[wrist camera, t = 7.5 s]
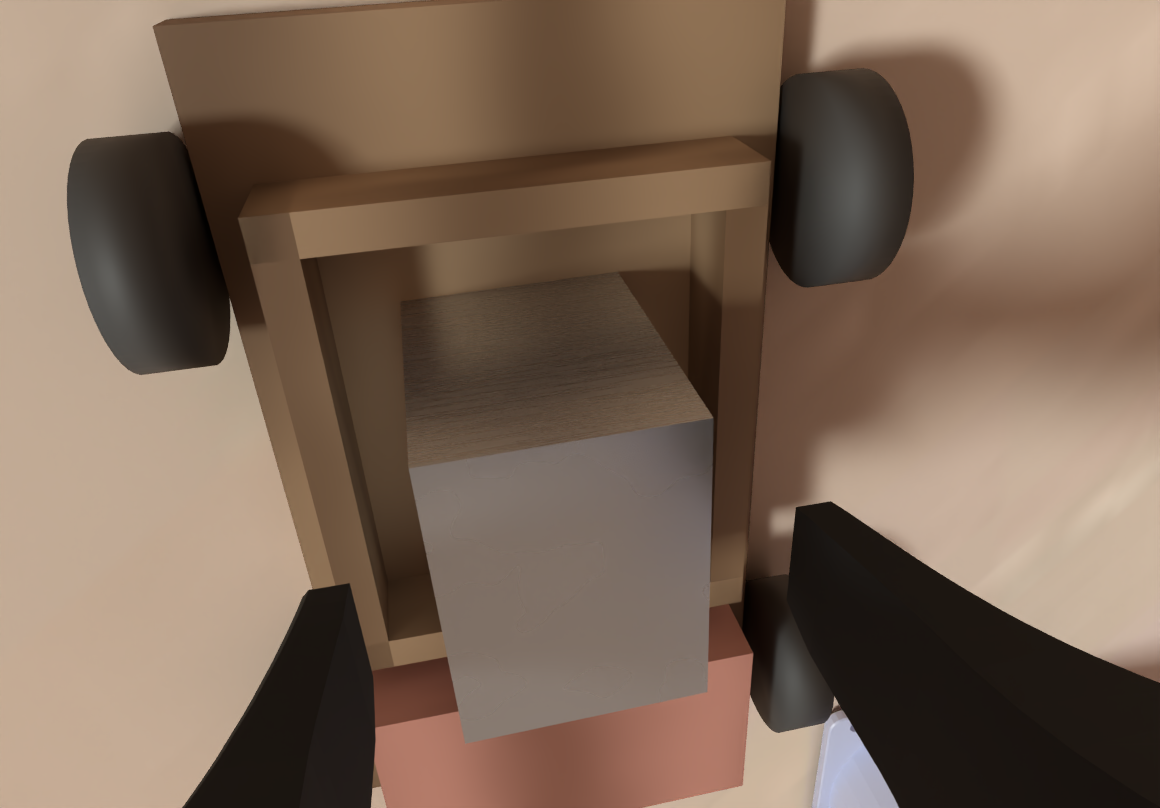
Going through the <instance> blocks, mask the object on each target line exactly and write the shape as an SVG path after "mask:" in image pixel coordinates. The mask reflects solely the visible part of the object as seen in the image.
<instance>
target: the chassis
mask: <svg viewBox="0 0 1160 808" xmlns="http://www.w3.org/2000/svg"><path fill="white" fill-rule="evenodd" d="M785 9H786V0H431V1H417V2H403V3H389V4H376V5H362V6H348V7H334V8H321V9H307V10H293V11H279V12H266V13H252V14H238V15H224V16H210V17H197V18H183V19H169V20H164V21H162V22H160V23H158V24H156V25H154V26H153V29H154V33H155V36H156V40H157V43H158V47H159V50H160V54H161V57H162V61H163V64H164V68H165V71H166V75H167V78H168V82H169V85H170V89H171V92H172V96H173V100H174V103H175V107H176V110H177V114H178V117H179V121H180V124H181V128H182V131H183V135H184V138H185V142H186V145H187V148H186V147H185V145H184V144H183V142H182V141H181V140H180V139H179V138H178V137H177V136H176V135H174V134H173V133H171V132H160V133H149V134H138V135H127V136H116V137H105V138H94V139H86V140H84V141H82V142H81V143H80V144H79V145H78V146H77V148H76V150H75V152H74V154H73V156H72V160H71V163H70V168H69V173H68V183H67V209H68V222H69V230H70V237H71V243H72V248H73V254H74V258H75V262H76V267H77V271H78V275H79V278H80V281H81V285H82V288H83V291H84V294H85V297H86V300H87V303H88V306H89V308H90V311H91V313H92V315H93V318H94V320H95V322H96V324H97V326H98V329H99V331H100V333H101V335H102V336H103V338H104V340H105V342H106V343H107V345H108V347H109V348H110V350H111V351H112V352H113V354H114V355H115V357H116V358H117V359H118V360H119V361H120V362H121V364H122V365H124V366H125V367H126V368H127V369H128V370H130V371H132V372H133V373H136V374H139V375H144V374H152V373H160V372H167V371H175V370H182V369H190V368H198V367H205V366H213V365H218V364H219V363H221V361H222V360H223V359H224V357H225V354H226V351H227V348H228V342H229V334H230V300H231V303H232V307H233V311H234V314H235V318H236V321H237V325H238V328H239V332H240V335H241V339H242V342H243V346H244V349H245V353H246V356H247V360H248V363H249V367H250V370H251V374H252V377H253V381H254V384H255V388H256V391H257V395H258V398H259V402H260V405H261V409H262V412H263V416H264V420H265V423H266V427H267V430H268V434H269V437H270V441H271V444H272V448H273V451H274V455H275V458H276V462H277V465H278V469H279V472H280V476H281V479H282V483H283V486H284V490H285V493H286V497H287V500H288V504H289V507H290V511H291V514H292V518H293V522H294V525H295V529H296V532H297V536H298V539H299V543H300V546H301V550H302V553H303V557H304V560H305V564H306V567H307V571H308V574H309V578H310V581H311V585H312V588H313V589H318V588H324V587H330V586H336V585H341V584H347V583H350V586H351V590H352V594H353V598H354V602H355V606H356V610H357V614H358V618H359V622H360V626H361V630H362V634H363V638H364V642H365V646H366V650H367V654H368V658H369V662H370V666H371V670H372V674H373V681H374V704H375V734H376V743H375V758H374V771H373V784H372V788H375V787H380V786H381V787H382V791H383V795H384V798H385V802H386V806H387V808H643V807H647V806H652V805H656V804H661V803H665V802H670V801H675V800H679V799H684V798H688V797H693V796H697V795H702V794H706V793H711V792H715V791H720V790H724V789H729V788H733V787H738V786H742V785H743V774H744V761H745V749H746V737H747V724H748V712H749V699H750V695H751V698H752V700H753V702H754V705H755V707H756V709H757V711H758V713H759V714H760V716H761V718H762V719H763V721H764V722H765V723H766V725H767V726H768V727H769V728H770V729H771V730H772V731H774V732H777V733H780V732H785V731H789V730H794V729H799V728H803V727H808V726H813V725H818V724H822V723H825V722H826V721H827V720H828V719H829V717H830V715H831V712H832V708H833V702H834V695H833V693H832V691H831V690H830V688H829V686H828V684H827V683H826V681H825V679H824V678H823V676H822V674H821V673H820V671H819V669H818V667H817V666H816V664H815V662H814V661H813V659H812V657H811V655H810V653H809V651H808V649H807V647H806V644H805V642H804V640H803V638H802V636H801V633H800V631H799V629H798V626H797V624H796V622H795V619H794V617H793V614H792V612H791V610H790V607H789V605H788V602H787V590H788V581H789V575H778V576H772V577H767V578H762V579H756V580H751V581H746V567H747V552H748V538H749V524H750V509H751V495H752V481H753V467H754V452H755V438H756V424H757V409H758V395H759V381H760V366H761V352H762V338H763V324H764V309H765V295H766V281H767V266H768V252H769V242H770V245H771V247H772V250H773V253H774V255H775V257H776V259H777V261H778V263H779V265H780V267H781V269H782V270H783V271H784V273H785V274H786V275H787V276H788V278H789V279H790V280H791V281H793V282H794V283H795V284H797V285H799V286H802V287H815V286H823V285H830V284H838V283H845V282H853V281H861V280H867V279H872V278H874V277H876V276H878V275H879V274H881V273H882V272H883V271H884V270H885V269H886V268H887V267H888V266H889V265H890V264H891V262H892V261H893V259H894V258H895V256H896V254H897V252H898V250H899V248H900V246H901V244H902V241H903V239H904V236H905V233H906V229H907V226H908V222H909V217H910V212H911V206H912V198H913V183H914V168H913V153H912V145H911V139H910V133H909V129H908V125H907V121H906V118H905V115H904V112H903V109H902V106H901V104H900V102H899V100H898V98H897V96H896V94H895V92H894V91H893V89H892V88H891V86H890V85H889V84H888V82H887V81H886V80H885V79H884V78H883V77H882V76H880V75H879V74H878V73H876V72H874V71H872V70H870V69H864V68H860V69H849V70H838V71H828V72H817V73H806V74H796V75H794V76H792V77H790V78H789V79H788V80H786V81H785V82H784V83H783V85H782V86H781V87H780V80H781V66H782V52H783V38H784V23H785ZM612 272H618V273H619V275H620V276H621V278H622V279H623V281H624V282H625V284H626V285H627V287H628V288H629V290H630V291H631V293H632V294H633V296H634V297H635V299H636V301H637V302H638V304H639V305H640V307H641V308H642V310H643V311H644V313H645V314H646V316H647V317H648V319H649V320H650V322H651V323H652V325H653V326H654V328H655V329H656V331H657V333H658V334H659V336H660V337H661V339H662V340H663V342H664V343H665V345H666V346H667V348H668V349H669V351H670V352H671V354H672V355H673V357H674V358H675V360H676V361H677V363H678V365H679V366H680V368H681V369H682V371H683V372H684V374H685V375H686V377H687V378H688V380H689V381H690V383H691V384H692V386H693V387H694V389H695V390H696V392H697V393H698V395H699V396H700V398H701V400H702V401H703V403H704V404H705V406H706V407H707V409H708V410H709V412H710V413H711V415H712V416H713V418H714V424H713V468H712V512H711V556H710V601H709V645H708V689H707V692H706V693H701V694H696V695H692V696H687V697H682V698H678V699H673V700H668V701H664V702H659V703H654V704H650V705H645V706H640V707H635V708H631V709H626V710H621V711H617V712H612V713H607V714H603V715H598V716H593V717H589V718H584V719H579V720H574V721H570V722H565V723H560V724H556V725H551V726H546V727H542V728H537V729H532V730H528V731H523V732H518V733H513V734H509V735H504V736H499V737H495V738H490V739H485V740H481V741H476V742H471V743H467V744H465V740H464V735H463V731H462V726H461V721H460V716H459V711H458V706H457V701H456V697H455V692H454V687H453V682H452V677H451V672H450V667H449V663H448V658H447V653H446V648H445V643H444V638H443V633H442V629H441V624H440V619H439V614H438V609H437V604H436V599H435V595H434V590H433V585H432V580H431V575H430V570H429V565H428V560H427V556H426V551H425V546H424V541H423V536H422V531H421V526H420V522H419V517H418V512H417V507H416V502H415V497H414V492H413V488H412V483H411V478H410V473H409V467H408V446H407V426H406V406H405V385H404V365H403V345H402V324H401V304H400V302H402V301H409V300H416V299H423V298H431V297H438V296H445V295H452V294H460V293H467V292H474V291H481V290H489V289H496V288H503V287H510V286H518V285H525V284H532V283H539V282H547V281H554V280H561V279H568V278H576V277H583V276H590V275H597V274H605V273H612ZM229 296H230V300H229Z"/></svg>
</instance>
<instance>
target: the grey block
mask: <svg viewBox="0 0 1160 808" xmlns="http://www.w3.org/2000/svg"><path fill="white" fill-rule="evenodd" d="M400 304H401V324H402V345H403V365H404V385H405V406H406V426H407V446H408V467H409V473H410V478H411V483H412V488H413V492H414V497H415V502H416V507H417V512H418V517H419V522H420V526H421V531H422V536H423V541H424V546H425V551H426V556H427V560H428V565H429V570H430V575H431V580H432V585H433V590H434V595H435V599H436V604H437V609H438V614H439V619H440V624H441V629H442V633H443V638H444V643H445V648H446V653H447V658H448V663H449V667H450V672H451V677H452V682H453V687H454V692H455V697H456V701H457V706H458V711H459V716H460V721H461V726H462V731H463V735H464V740H465V744H467V743H471V742H476V741H481V740H485V739H490V738H495V737H499V736H504V735H509V734H513V733H518V732H523V731H528V730H532V729H537V728H542V727H546V726H551V725H556V724H560V723H565V722H570V721H574V720H579V719H584V718H589V717H593V716H598V715H603V714H607V713H612V712H617V711H621V710H626V709H631V708H635V707H640V706H645V705H650V704H654V703H659V702H664V701H668V700H673V699H678V698H682V697H687V696H692V695H696V694H701V693H706V692H707V689H708V645H709V601H710V556H711V512H712V468H713V424H714V418H713V416H712V415H711V413H710V412H709V410H708V409H707V407H706V406H705V404H704V403H703V401H702V400H701V398H700V396H699V395H698V393H697V392H696V390H695V389H694V387H693V386H692V384H691V383H690V381H689V380H688V378H687V377H686V375H685V374H684V372H683V371H682V369H681V368H680V366H679V365H678V363H677V361H676V360H675V358H674V357H673V355H672V354H671V352H670V351H669V349H668V348H667V346H666V345H665V343H664V342H663V340H662V339H661V337H660V336H659V334H658V333H657V331H656V329H655V328H654V326H653V325H652V323H651V322H650V320H649V319H648V317H647V316H646V314H645V313H644V311H643V310H642V308H641V307H640V305H639V304H638V302H637V301H636V299H635V297H634V296H633V294H632V293H631V291H630V290H629V288H628V287H627V285H626V284H625V282H624V281H623V279H622V278H621V276H620V275H619V273H618V272H612V273H605V274H597V275H590V276H583V277H576V278H568V279H561V280H554V281H547V282H539V283H532V284H525V285H518V286H510V287H503V288H496V289H489V290H481V291H474V292H467V293H460V294H452V295H445V296H438V297H431V298H423V299H416V300H409V301H402V302H400Z"/></svg>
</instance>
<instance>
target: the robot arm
mask: <svg viewBox="0 0 1160 808" xmlns="http://www.w3.org/2000/svg"><path fill="white" fill-rule="evenodd" d="M787 602H788V605H789V607H790V610H791V612H792V614H793V617H794V619H795V622H796V624H797V626H798V629H799V631H800V633H801V636H802V638H803V640H804V642H805V644H806V647H807V649H808V651H809V653H810V655H811V657H812V659H813V661H814V662H815V664H816V666H817V667H818V669H819V671H820V673H821V674H822V676H823V678H824V679H825V681H826V683H827V684H828V686H829V688H830V690H831V691H832V693H833V695H834V696H835V698H836V700H837V701H838V703H839V705H840V706H841V708H842V710H840V711H837V712H834V713H833V714H831V715H830V717H829V719H828V720H827V721H826V722H825V725H824V731H823V738H822V744H821V751H820V757H819V764H818V771H817V777H816V784H815V790H814V797H813V803H812V808H1160V683H1159V682H1156V681H1153V680H1151V679H1148V678H1145V677H1143V676H1140V675H1138V674H1136V673H1133V672H1131V671H1128V670H1126V669H1124V668H1121V667H1119V666H1116V665H1114V664H1112V663H1109V662H1107V661H1104V660H1102V659H1100V658H1097V657H1095V656H1093V655H1090V654H1088V653H1086V652H1084V651H1082V650H1079V649H1077V648H1075V647H1073V646H1071V645H1068V644H1066V643H1064V642H1062V641H1060V640H1058V639H1056V638H1054V637H1052V636H1050V635H1048V634H1046V633H1044V632H1042V631H1040V630H1038V629H1036V628H1034V627H1032V626H1030V625H1028V624H1026V623H1024V622H1022V621H1020V620H1018V619H1017V618H1015V617H1013V616H1011V615H1009V614H1007V613H1005V612H1004V611H1002V610H1000V609H998V608H997V607H995V606H993V605H991V604H990V603H988V602H986V601H984V600H983V599H981V598H979V597H978V596H976V595H974V594H972V593H971V592H969V591H967V590H965V589H964V588H962V587H961V586H959V585H957V584H956V583H954V582H952V581H951V580H949V579H948V578H946V577H944V576H943V575H941V574H940V573H938V572H936V571H935V570H933V569H932V568H930V567H929V566H927V565H926V564H924V563H922V562H921V561H919V560H918V559H916V558H915V557H913V556H912V555H910V554H909V553H907V552H906V551H904V550H903V549H901V548H900V547H898V546H897V545H895V544H894V543H892V542H891V541H889V540H888V539H886V538H885V537H883V536H882V535H880V534H879V533H878V532H876V531H875V530H873V529H872V528H870V527H869V526H867V525H866V524H864V523H863V522H861V521H860V520H858V519H857V518H855V517H854V516H853V515H851V514H850V513H848V512H847V511H845V510H843V509H842V508H840V507H839V506H837V505H836V504H834V503H833V502H831V501H830V502H825V503H819V504H813V505H807V506H801V507H796V512H795V522H794V532H793V541H792V551H791V561H790V571H789V581H788V590H787ZM375 743H376V734H375V704H374V681H373V674H372V670H371V666H370V662H369V658H368V654H367V650H366V646H365V642H364V638H363V634H362V630H361V626H360V622H359V618H358V614H357V610H356V606H355V602H354V598H353V594H352V590H351V586H350V583H347V584H341V585H336V586H330V587H324V588H318V589H312V590H308V592H307V593H306V594H305V595H304V596H303V598H302V600H301V602H300V605H299V607H298V609H297V612H296V614H295V616H294V618H293V621H292V623H291V625H290V627H289V629H288V631H287V634H286V636H285V638H284V640H283V642H282V644H281V646H280V648H279V650H278V652H277V654H276V656H275V658H274V660H273V662H272V664H271V666H270V668H269V669H268V671H267V673H266V675H265V677H264V679H263V680H262V682H261V684H260V686H259V688H258V690H257V691H256V693H255V695H254V697H253V699H252V701H251V702H250V704H249V706H248V708H247V709H246V711H245V713H244V715H243V716H242V718H241V719H240V721H239V723H238V724H237V726H236V727H235V729H234V731H233V732H232V734H231V736H230V737H229V739H228V740H227V742H226V744H225V745H224V747H223V749H222V750H221V752H220V753H219V755H218V757H217V758H216V760H215V761H214V763H213V764H212V766H211V767H210V769H209V770H208V772H207V773H206V775H205V776H204V778H203V779H202V781H201V782H200V784H199V785H198V786H197V788H196V789H195V791H194V792H193V794H192V795H191V796H190V798H189V799H188V801H187V802H186V803H185V805H184V806H183V807H182V808H371V797H372V784H373V771H374V758H375Z"/></svg>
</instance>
